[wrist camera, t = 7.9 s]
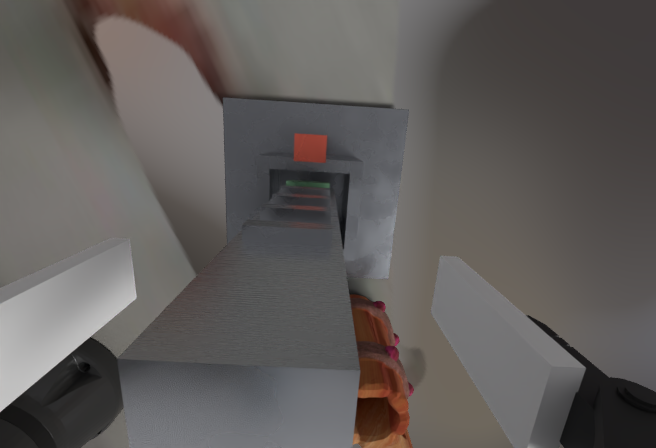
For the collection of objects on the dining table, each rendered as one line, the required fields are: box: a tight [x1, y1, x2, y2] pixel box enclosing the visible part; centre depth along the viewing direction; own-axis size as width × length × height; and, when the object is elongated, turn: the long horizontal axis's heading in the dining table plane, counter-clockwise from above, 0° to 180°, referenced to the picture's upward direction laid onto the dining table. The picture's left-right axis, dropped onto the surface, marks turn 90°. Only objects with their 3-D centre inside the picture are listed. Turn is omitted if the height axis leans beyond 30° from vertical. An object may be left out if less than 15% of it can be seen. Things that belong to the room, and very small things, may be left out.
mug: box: [349, 294, 414, 448], centre depth 30 cm, size 15×8×15 cm, turn 24°
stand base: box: [223, 98, 409, 279], centre depth 28 cm, size 18×18×9 cm
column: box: [117, 180, 360, 448], centre depth 15 cm, size 4×5×20 cm
